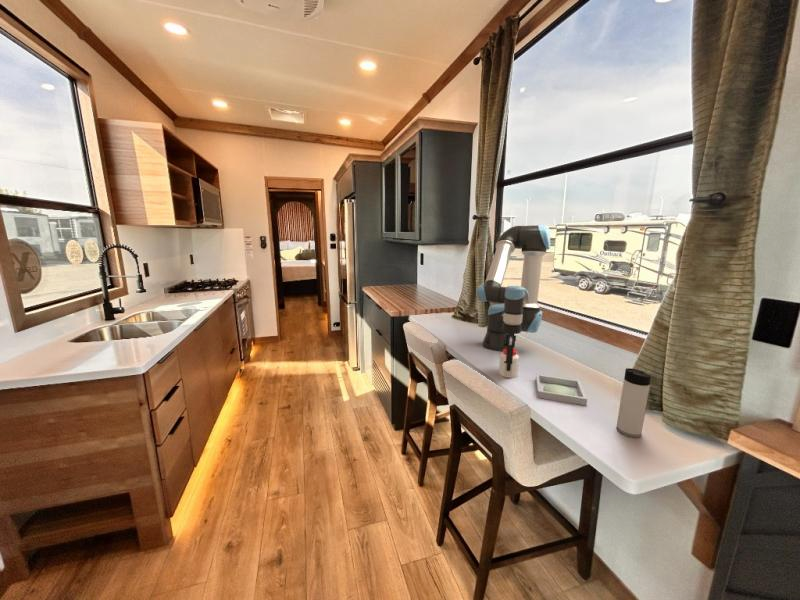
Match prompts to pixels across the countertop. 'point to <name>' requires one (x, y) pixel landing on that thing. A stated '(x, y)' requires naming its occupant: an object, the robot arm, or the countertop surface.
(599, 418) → the countertop surface
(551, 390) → the pad
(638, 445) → the countertop surface
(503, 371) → the pill bottle
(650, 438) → the countertop surface
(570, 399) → the shallow grey tray
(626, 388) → the travel mug
